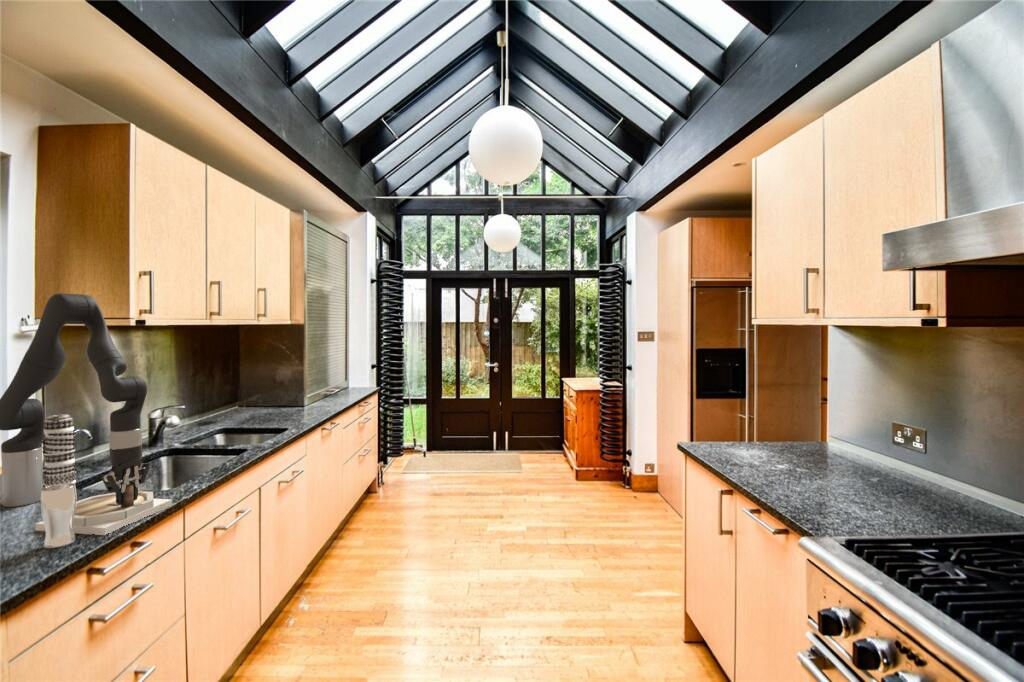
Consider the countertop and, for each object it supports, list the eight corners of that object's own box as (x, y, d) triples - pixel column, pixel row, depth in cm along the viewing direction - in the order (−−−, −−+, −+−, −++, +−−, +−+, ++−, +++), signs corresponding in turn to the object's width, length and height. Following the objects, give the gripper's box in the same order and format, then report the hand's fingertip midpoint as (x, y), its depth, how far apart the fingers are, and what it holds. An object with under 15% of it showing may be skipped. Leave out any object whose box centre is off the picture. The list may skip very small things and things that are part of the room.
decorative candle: (84, 480, 177) (83, 413, 177) (57, 489, 168) (55, 418, 167) (63, 479, 179) (61, 412, 178) (35, 487, 169) (33, 417, 169)
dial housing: (35, 530, 134) (35, 515, 134) (111, 502, 156) (111, 488, 156) (104, 535, 131) (104, 519, 131) (172, 505, 153) (171, 492, 153)
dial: (52, 519, 136) (52, 493, 136) (110, 498, 153) (110, 474, 153) (105, 522, 134) (105, 496, 134) (158, 500, 151) (157, 477, 150)
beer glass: (57, 537, 129) (55, 482, 129) (84, 537, 130) (83, 482, 130) (33, 549, 122) (32, 491, 122) (63, 548, 123) (61, 490, 123)
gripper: (136, 438, 149) (137, 493, 150) (91, 450, 135) (92, 510, 136) (157, 439, 148) (158, 494, 149) (114, 451, 134) (115, 512, 135)
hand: (127, 502), depth 142 cm, fingers closed on dial, 3 cm apart
